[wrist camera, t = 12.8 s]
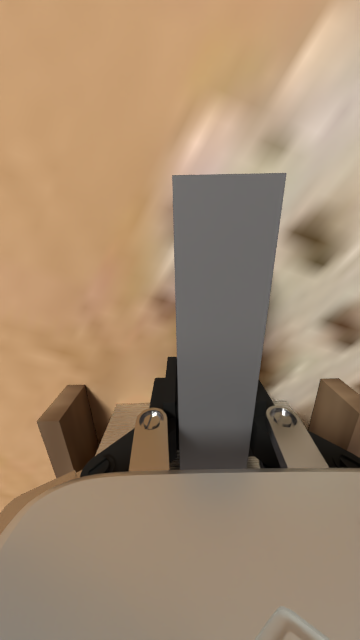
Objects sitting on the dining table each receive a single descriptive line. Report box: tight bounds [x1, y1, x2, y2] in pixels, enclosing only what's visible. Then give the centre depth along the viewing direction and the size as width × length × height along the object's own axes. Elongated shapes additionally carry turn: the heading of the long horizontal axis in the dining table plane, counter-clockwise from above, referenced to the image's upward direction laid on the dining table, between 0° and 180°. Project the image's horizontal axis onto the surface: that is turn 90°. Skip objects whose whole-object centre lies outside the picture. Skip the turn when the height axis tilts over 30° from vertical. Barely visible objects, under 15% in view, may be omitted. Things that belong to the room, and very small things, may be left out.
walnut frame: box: [37, 378, 360, 478], centre depth 15 cm, size 18×18×3 cm
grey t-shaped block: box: [95, 173, 293, 470], centre depth 10 cm, size 12×13×5 cm
